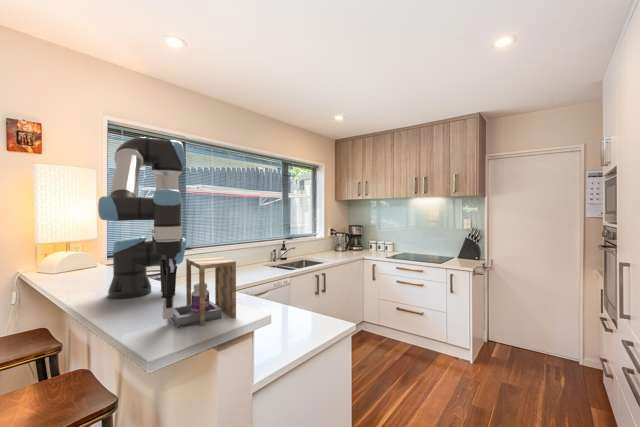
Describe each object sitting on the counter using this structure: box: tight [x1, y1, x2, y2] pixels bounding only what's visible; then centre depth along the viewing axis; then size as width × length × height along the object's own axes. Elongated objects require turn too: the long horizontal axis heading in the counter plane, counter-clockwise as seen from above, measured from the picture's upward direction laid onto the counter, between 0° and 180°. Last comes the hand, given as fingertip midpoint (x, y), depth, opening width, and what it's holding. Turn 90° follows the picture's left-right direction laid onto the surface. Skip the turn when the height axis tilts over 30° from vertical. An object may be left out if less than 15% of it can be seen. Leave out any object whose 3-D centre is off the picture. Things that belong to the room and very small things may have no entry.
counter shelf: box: [185, 255, 237, 327], centre depth 98 cm, size 16×11×18 cm
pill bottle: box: [191, 282, 210, 314], centre depth 96 cm, size 5×5×10 cm
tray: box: [169, 300, 223, 329], centre depth 96 cm, size 11×13×3 cm
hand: (168, 317), depth 91 cm, fingers closed
